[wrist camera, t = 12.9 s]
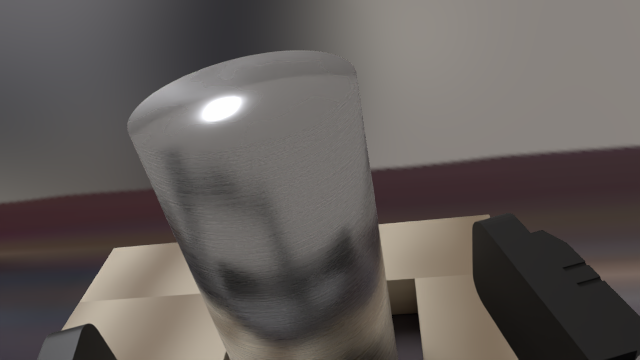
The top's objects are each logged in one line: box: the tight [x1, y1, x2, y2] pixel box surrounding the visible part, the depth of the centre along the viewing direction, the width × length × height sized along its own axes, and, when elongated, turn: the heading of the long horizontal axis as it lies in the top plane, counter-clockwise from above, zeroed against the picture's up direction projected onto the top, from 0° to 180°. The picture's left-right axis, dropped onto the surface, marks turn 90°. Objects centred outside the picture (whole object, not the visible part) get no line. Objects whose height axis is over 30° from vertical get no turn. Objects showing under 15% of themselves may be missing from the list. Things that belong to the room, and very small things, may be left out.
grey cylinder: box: [127, 50, 398, 360], centre depth 14 cm, size 6×5×12 cm
